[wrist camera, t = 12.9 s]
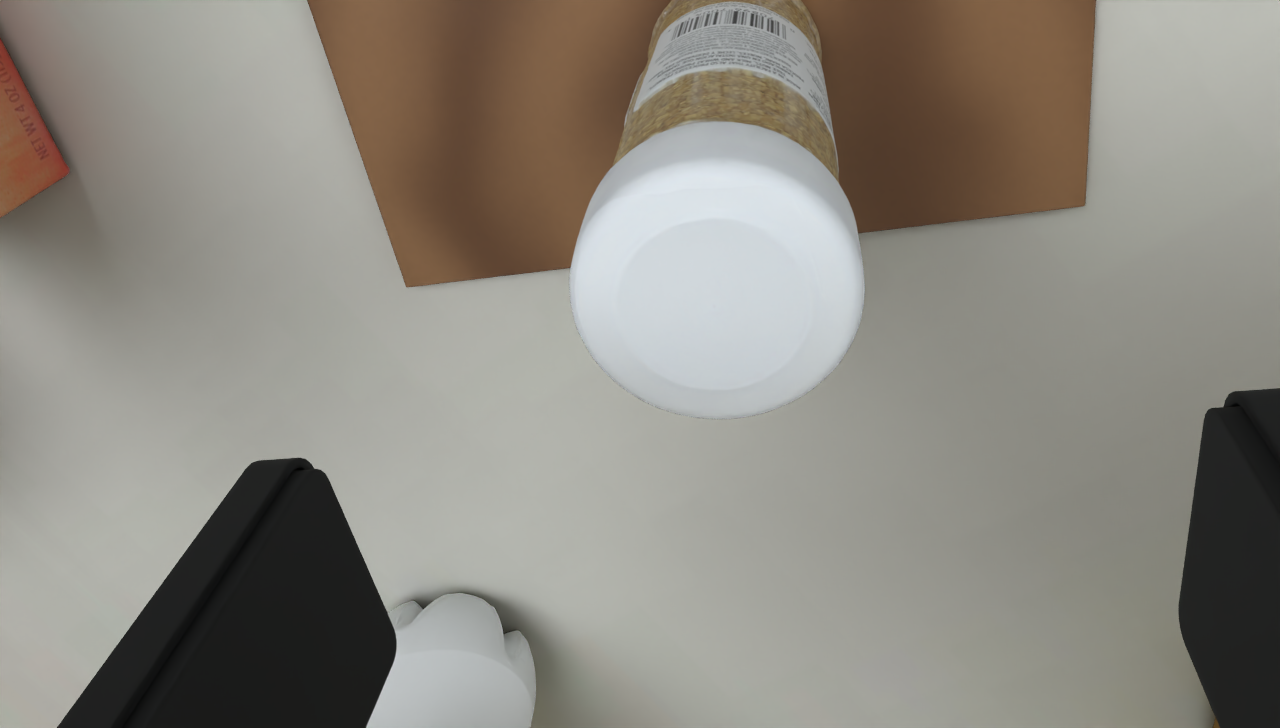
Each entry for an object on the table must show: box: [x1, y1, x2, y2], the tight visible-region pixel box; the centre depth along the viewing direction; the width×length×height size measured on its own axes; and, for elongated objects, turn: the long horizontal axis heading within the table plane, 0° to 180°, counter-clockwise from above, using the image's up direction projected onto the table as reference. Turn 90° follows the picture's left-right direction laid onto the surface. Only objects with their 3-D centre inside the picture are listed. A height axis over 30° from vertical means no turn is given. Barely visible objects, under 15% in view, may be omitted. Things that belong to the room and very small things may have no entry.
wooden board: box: [307, 0, 1096, 287], centre depth 26 cm, size 20×12×1 cm, turn 100°
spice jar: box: [569, 0, 865, 419], centre depth 21 cm, size 5×5×13 cm
